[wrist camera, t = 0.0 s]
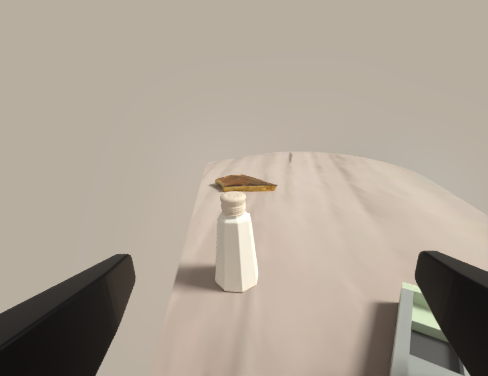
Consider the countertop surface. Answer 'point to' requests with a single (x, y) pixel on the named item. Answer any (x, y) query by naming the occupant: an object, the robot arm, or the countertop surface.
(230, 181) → the shard
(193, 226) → the countertop surface
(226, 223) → the salt shaker
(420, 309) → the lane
